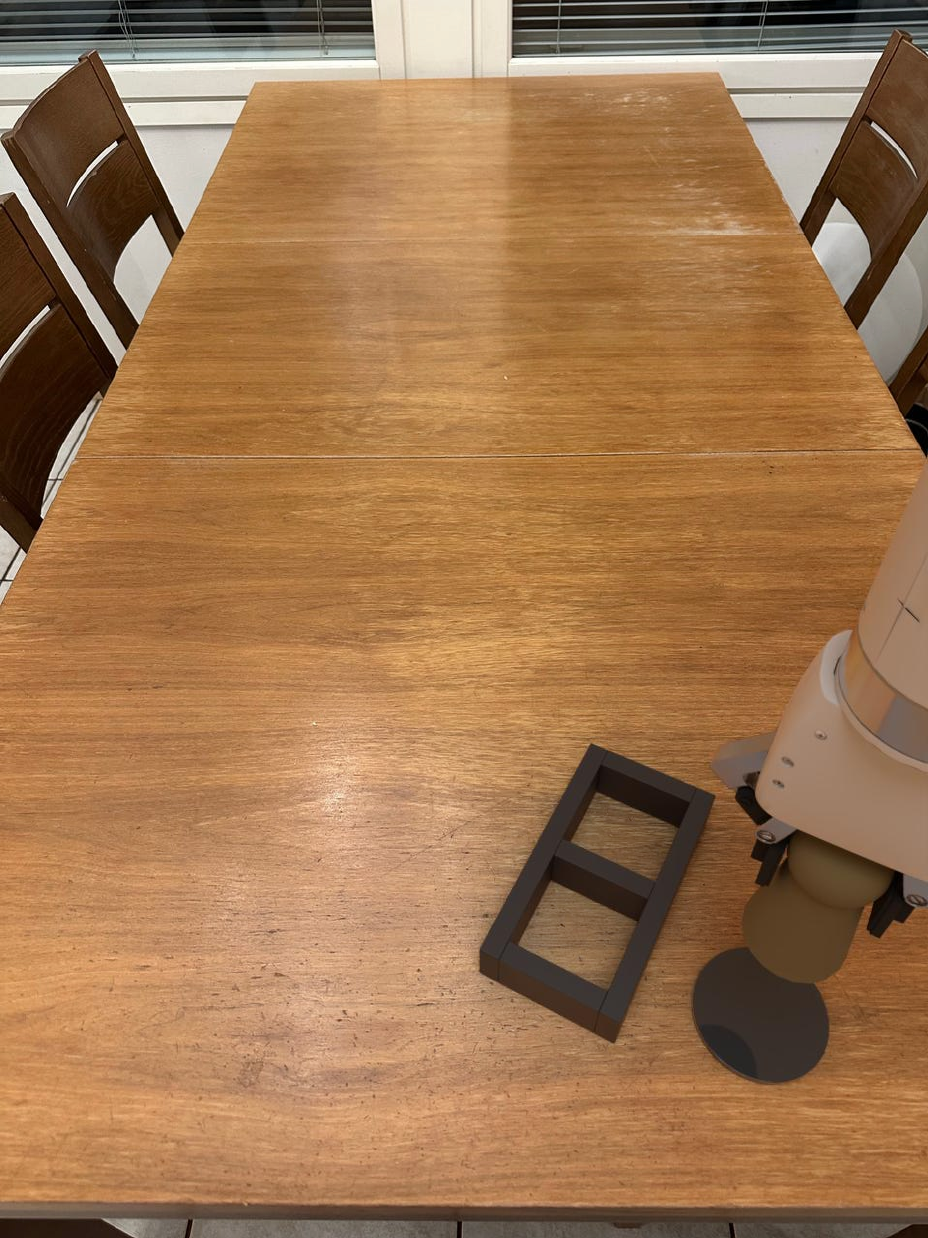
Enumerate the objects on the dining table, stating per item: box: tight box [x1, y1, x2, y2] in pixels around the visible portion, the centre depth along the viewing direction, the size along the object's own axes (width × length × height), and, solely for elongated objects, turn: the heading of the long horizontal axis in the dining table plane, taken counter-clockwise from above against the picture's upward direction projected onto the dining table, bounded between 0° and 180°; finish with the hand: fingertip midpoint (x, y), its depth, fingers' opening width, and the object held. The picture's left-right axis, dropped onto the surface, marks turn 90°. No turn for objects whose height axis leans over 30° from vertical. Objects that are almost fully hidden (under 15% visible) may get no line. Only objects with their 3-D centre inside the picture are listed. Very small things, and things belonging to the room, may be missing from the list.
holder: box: [478, 742, 716, 1044], centre depth 69 cm, size 10×19×4 cm, turn 152°
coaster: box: [691, 946, 830, 1086], centre depth 64 cm, size 9×9×1 cm
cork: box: [741, 829, 895, 984], centre depth 51 cm, size 6×6×11 cm
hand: (823, 886), depth 51 cm, fingers closed on cork, 5 cm apart
